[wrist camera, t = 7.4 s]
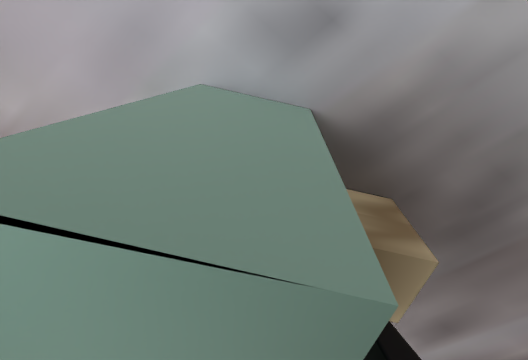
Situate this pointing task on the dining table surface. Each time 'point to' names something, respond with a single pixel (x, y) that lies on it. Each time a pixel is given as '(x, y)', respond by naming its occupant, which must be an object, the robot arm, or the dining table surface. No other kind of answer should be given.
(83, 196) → the teal block
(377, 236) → the maple rail
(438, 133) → the dining table surface
